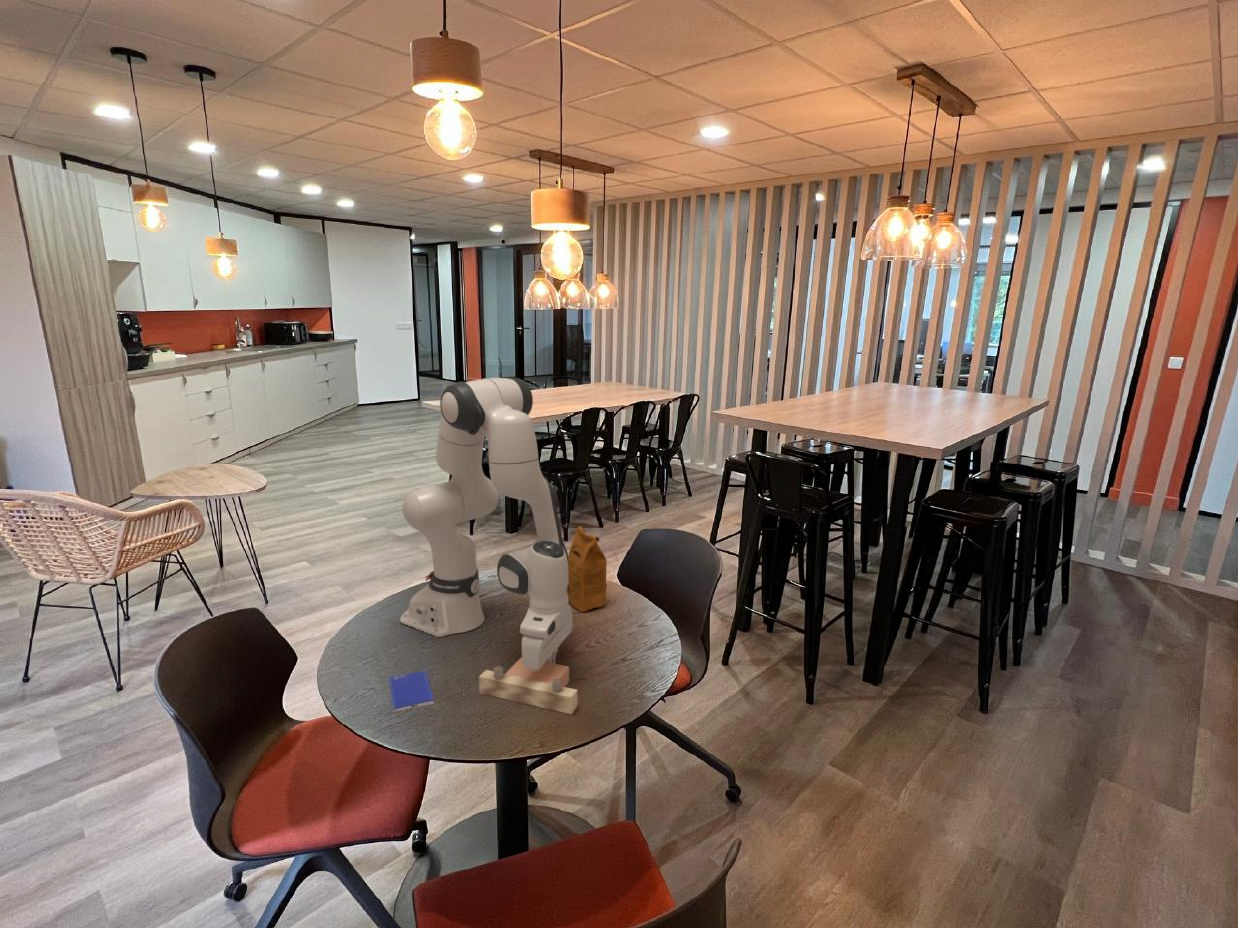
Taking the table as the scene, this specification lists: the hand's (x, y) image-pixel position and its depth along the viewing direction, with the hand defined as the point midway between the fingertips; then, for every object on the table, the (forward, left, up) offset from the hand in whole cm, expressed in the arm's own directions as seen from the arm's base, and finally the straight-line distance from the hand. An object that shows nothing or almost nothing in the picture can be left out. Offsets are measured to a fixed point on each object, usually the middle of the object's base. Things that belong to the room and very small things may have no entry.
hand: (549, 667), depth 147 cm
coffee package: (-6, +37, -2) cm, 38 cm away
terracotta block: (0, -6, -2) cm, 6 cm away
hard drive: (-25, -17, -2) cm, 31 cm away
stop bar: (0, -11, -2) cm, 11 cm away
